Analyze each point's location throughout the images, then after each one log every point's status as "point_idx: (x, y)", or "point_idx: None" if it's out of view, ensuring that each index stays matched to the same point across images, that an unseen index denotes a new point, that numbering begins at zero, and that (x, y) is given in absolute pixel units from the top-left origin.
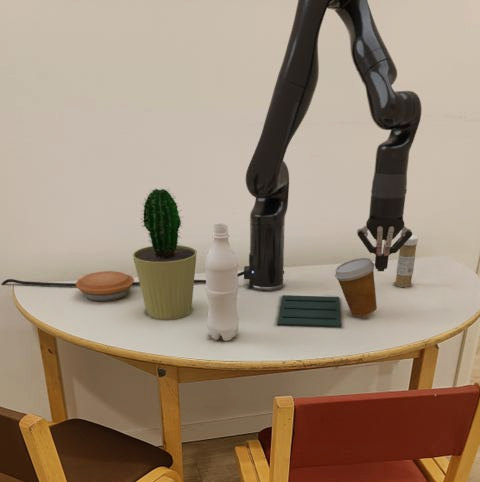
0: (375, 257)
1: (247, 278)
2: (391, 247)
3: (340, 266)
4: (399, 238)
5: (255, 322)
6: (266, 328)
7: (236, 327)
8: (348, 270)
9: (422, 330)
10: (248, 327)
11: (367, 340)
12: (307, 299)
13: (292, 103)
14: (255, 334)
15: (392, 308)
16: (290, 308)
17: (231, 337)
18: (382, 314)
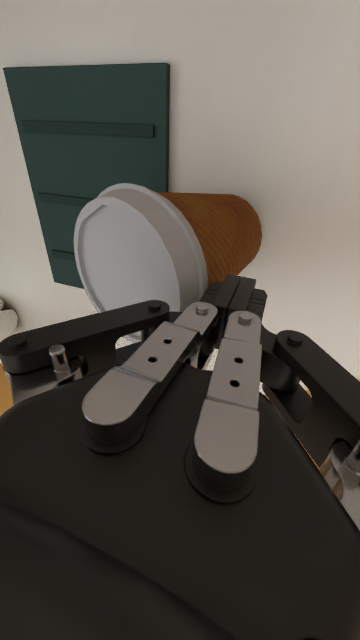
0: (199, 301)
1: None
2: (267, 368)
3: (83, 224)
4: (328, 412)
5: (20, 261)
6: (45, 290)
7: (8, 336)
8: (113, 301)
9: (353, 344)
10: (19, 282)
11: (210, 363)
12: (74, 122)
13: None
14: (39, 311)
15: (344, 170)
16: (53, 202)
17: (15, 331)
18: (286, 229)
